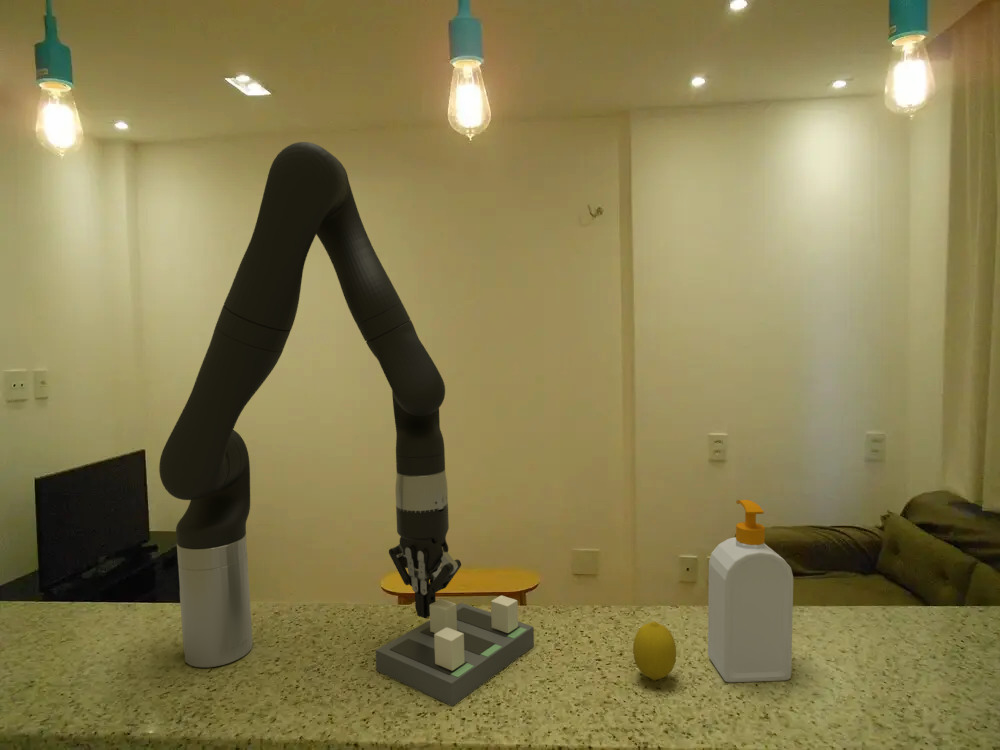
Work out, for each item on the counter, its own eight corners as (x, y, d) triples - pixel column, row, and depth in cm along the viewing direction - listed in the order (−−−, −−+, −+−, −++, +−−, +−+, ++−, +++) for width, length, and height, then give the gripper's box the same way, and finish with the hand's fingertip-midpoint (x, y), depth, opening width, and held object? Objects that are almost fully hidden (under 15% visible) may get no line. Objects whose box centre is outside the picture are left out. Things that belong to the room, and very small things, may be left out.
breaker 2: (491, 627, 94) (491, 601, 94) (501, 621, 96) (501, 595, 96) (508, 633, 93) (507, 606, 92) (518, 626, 95) (517, 600, 94)
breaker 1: (435, 663, 85) (434, 634, 85) (447, 655, 87) (446, 627, 86) (452, 670, 83) (451, 641, 83) (464, 662, 85) (463, 633, 85)
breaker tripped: (430, 631, 94) (429, 604, 93) (441, 624, 96) (440, 598, 95) (445, 637, 92) (444, 610, 91) (456, 630, 94) (456, 604, 93)
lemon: (677, 693, 83) (677, 633, 82) (633, 689, 84) (633, 630, 83) (674, 670, 88) (675, 613, 87) (633, 666, 89) (633, 611, 88)
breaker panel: (376, 670, 90) (375, 649, 89) (461, 620, 104) (461, 602, 104) (452, 706, 81) (451, 682, 81) (533, 646, 95) (533, 626, 95)
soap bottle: (768, 653, 92) (771, 495, 90) (791, 680, 85) (795, 510, 83) (705, 655, 92) (707, 497, 90) (723, 683, 85) (725, 512, 83)
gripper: (371, 500, 95) (376, 613, 97) (438, 515, 87) (442, 638, 89) (408, 488, 101) (411, 595, 103) (473, 501, 93) (476, 617, 95)
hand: (425, 615), depth 96 cm, fingers closed
